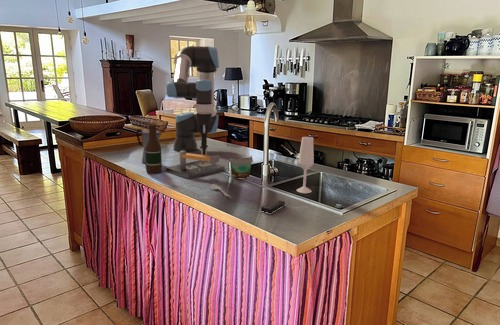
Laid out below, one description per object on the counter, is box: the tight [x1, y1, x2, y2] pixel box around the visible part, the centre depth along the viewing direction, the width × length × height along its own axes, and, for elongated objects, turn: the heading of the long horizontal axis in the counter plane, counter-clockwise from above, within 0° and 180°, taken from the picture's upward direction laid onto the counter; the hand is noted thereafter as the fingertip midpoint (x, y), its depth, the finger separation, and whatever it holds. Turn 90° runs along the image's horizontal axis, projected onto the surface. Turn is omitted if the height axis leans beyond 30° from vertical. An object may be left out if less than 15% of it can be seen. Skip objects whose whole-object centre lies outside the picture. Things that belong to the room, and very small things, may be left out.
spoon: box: [210, 183, 230, 197], centre depth 159 cm, size 4×21×2 cm, turn 32°
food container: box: [228, 155, 254, 179], centre depth 181 cm, size 12×6×10 cm, turn 117°
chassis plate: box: [165, 160, 226, 180], centre depth 192 cm, size 24×18×2 cm
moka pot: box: [135, 128, 162, 164], centre depth 203 cm, size 10×15×20 cm, turn 78°
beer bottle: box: [145, 123, 163, 175], centre depth 185 cm, size 8×8×24 cm
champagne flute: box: [296, 136, 315, 194], centre depth 163 cm, size 7×7×24 cm
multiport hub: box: [260, 199, 286, 213], centre depth 144 cm, size 4×11×2 cm, turn 145°
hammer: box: [179, 151, 220, 170], centre depth 182 cm, size 20×5×9 cm, turn 68°
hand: (204, 160), depth 184 cm, fingers closed
